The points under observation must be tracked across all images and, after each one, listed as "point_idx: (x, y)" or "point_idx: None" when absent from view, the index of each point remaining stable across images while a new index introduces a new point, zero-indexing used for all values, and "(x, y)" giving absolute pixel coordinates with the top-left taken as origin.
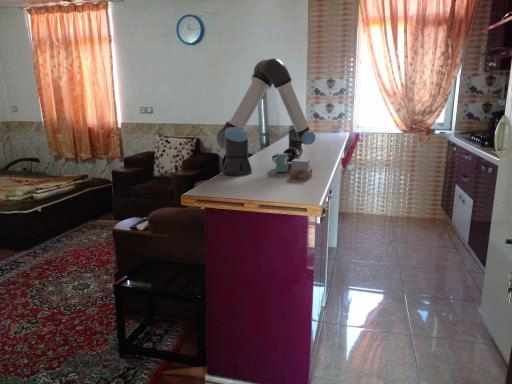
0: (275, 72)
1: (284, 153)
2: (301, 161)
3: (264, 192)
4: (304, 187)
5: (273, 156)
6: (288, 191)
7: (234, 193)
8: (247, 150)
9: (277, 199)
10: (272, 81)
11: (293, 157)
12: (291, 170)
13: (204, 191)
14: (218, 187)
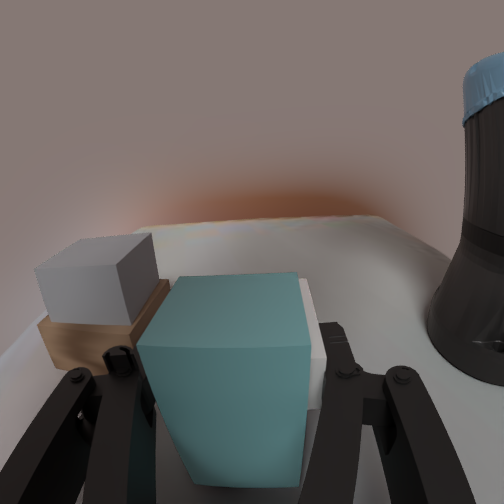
0: None
1: (200, 340)
2: (103, 237)
3: (240, 236)
4: None
5: (391, 370)
6: (183, 246)
7: (302, 226)
8: (481, 197)
9: (204, 226)
10: None
11: (86, 368)
12: (159, 279)
13: (368, 223)
14: (368, 236)
